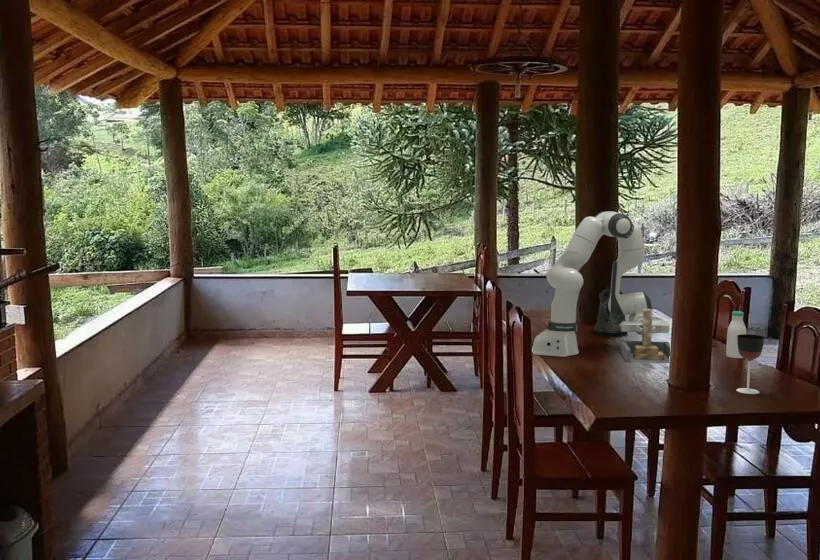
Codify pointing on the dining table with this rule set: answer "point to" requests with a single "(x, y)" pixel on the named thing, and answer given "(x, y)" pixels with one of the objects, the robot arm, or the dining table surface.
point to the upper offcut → (645, 349)
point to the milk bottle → (735, 334)
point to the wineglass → (749, 354)
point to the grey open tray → (628, 346)
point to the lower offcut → (649, 356)
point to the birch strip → (647, 327)
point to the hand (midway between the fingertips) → (647, 330)
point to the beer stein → (608, 318)
